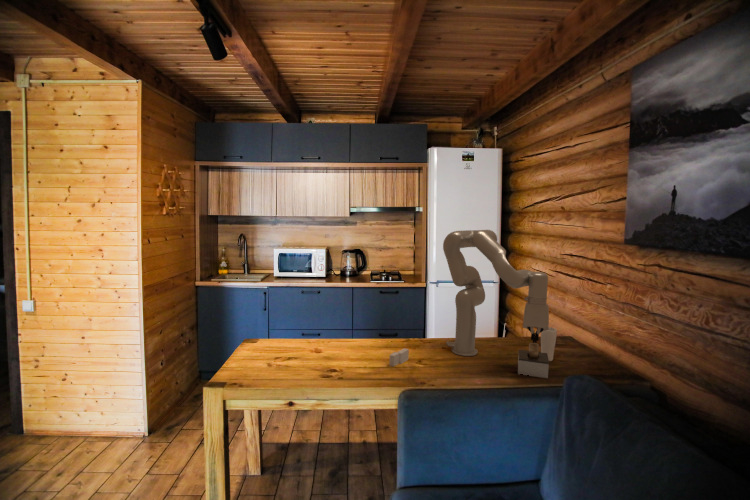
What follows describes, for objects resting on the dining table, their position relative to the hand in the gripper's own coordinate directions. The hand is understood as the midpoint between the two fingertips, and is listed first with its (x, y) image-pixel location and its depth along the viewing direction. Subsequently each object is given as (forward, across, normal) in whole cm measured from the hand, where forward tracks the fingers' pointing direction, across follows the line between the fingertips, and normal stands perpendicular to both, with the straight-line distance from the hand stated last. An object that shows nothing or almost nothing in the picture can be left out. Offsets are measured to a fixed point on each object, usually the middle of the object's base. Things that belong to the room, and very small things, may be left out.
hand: (534, 341), depth 183 cm
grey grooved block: (+14, -58, -13) cm, 61 cm away
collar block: (+13, 0, 0) cm, 13 cm away
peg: (+7, 0, 0) cm, 7 cm away
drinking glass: (+13, +7, +18) cm, 24 cm away
